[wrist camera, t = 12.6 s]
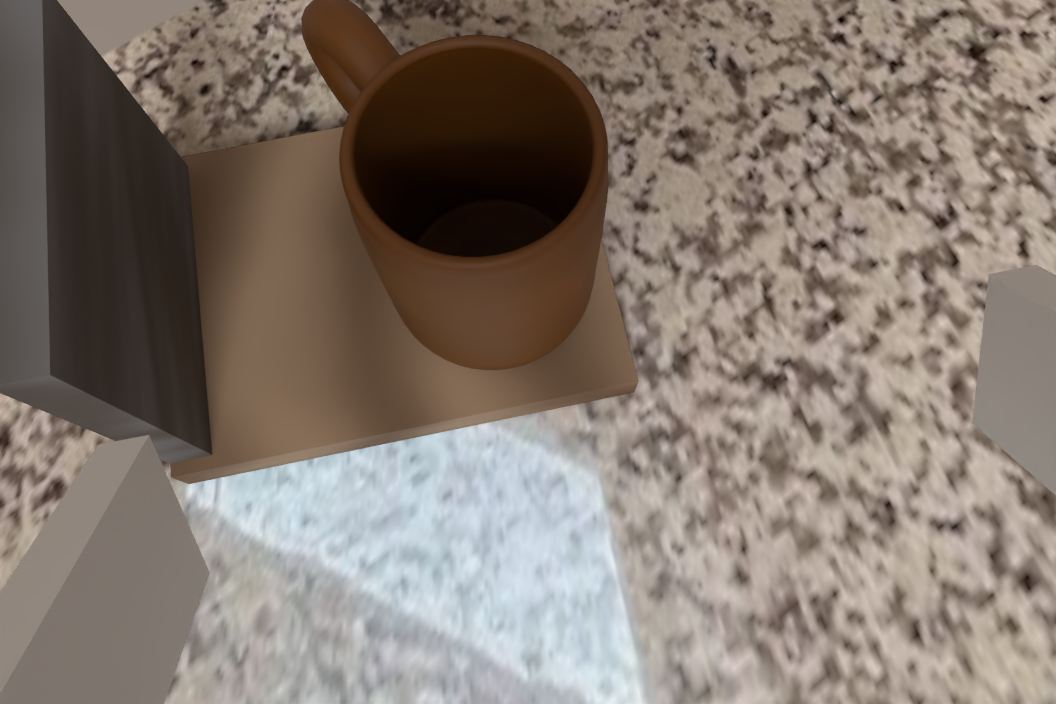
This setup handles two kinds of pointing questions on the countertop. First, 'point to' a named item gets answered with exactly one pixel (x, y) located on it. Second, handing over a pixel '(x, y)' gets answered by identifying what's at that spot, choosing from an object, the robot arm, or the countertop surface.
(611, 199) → the countertop surface
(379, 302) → the shelf
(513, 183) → the mug
